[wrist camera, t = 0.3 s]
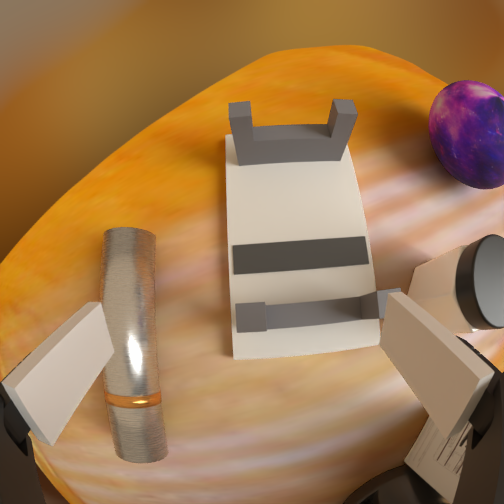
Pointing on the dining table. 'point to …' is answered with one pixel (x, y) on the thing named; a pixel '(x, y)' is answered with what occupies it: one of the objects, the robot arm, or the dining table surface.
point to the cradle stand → (298, 239)
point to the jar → (464, 286)
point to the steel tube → (132, 345)
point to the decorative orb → (469, 133)
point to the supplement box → (438, 458)
